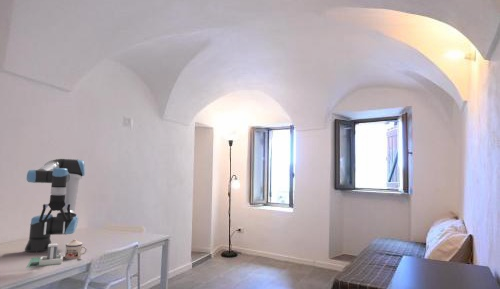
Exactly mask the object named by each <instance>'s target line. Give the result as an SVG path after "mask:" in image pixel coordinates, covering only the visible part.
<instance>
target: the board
mask: <svg viewBox="0 0 500 289" xmlns="http://www.w3.org/2000/svg"><path fill="white" fill-rule="evenodd" d="M59 255H62V253H61V252H60V253H57V256H59ZM40 258H41V257H31V259H30V260H29V262H28V263H27V266H26V268H33V267H34V268H35V267H47V266H60V265H61V264H49V265H39V260H40Z"/></svg>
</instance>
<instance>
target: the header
mask: <svg viewBox="0 0 500 289" xmlns="http://www.w3.org/2000/svg"><path fill="white" fill-rule="evenodd" d="M39 258H40V260H39V265H49V264H63V261H64V255H63V254H61V255H59V256H57V257H56V259H47V255H46V256H40V257H39Z"/></svg>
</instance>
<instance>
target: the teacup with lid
mask: <svg viewBox="0 0 500 289" xmlns="http://www.w3.org/2000/svg"><path fill="white" fill-rule="evenodd" d="M82 248H84V249H85V250H84V252H82V250H83V249H82ZM87 249H88V248H87V247H86V246H83V242H82V241H78V240H77V239H76V238H74V239H72V240H71V241H69V242H67V243H66V244H65V252H64V258H65V259H68V260H69V259H72V260H73V259H74V260H75V259H76V260H80V259H81V258H82V255H85V254H86V253H87V251H88V250H87Z"/></svg>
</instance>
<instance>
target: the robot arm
mask: <svg viewBox="0 0 500 289" xmlns="http://www.w3.org/2000/svg"><path fill="white" fill-rule="evenodd" d="M85 174H86V168H85V161H84V160H83V159H71V158H70V159H69V158H68V159H67V158H57V159H52V160H49V161H47V162H46V163H44V164H43V166H42V167H39V168H38V169H30V170H28V171H27V173H26V181H27V182H28V183H31V184H32V183H34V184H35V183H36V184H37V183H39V184H40V183H41V184H44V183H45V184H51V188H50V197H49V202H48V203H44V204H43V205H42V211H41V213H40V215H39V214H38V215H35V216H33V217H31V219H30V224H29V225H30V228H29V237H28V241H27V243H26V245H25V248H24V253H44V252H48V245H49V244H52V241H51V235H52V236H53V235H54V236H55V235H56V236H58V235H59V236H60V235H65V236H67V235H73V234H74V233H75V232H76V229H77V226H78V221H79V217H78V216H77V213H76V212H75V209H76V203H77V194H78V190H79V183H80V180H81V179H82V178H83V177H84V176H85ZM48 207H49V208H50V209H49V210H48V213H47V214H46V213H45V212H46V210H47V208H48ZM53 211H57V214H56V215H55V216H54V215H53V214H52V212H53ZM58 211H59V212H58Z"/></svg>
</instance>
